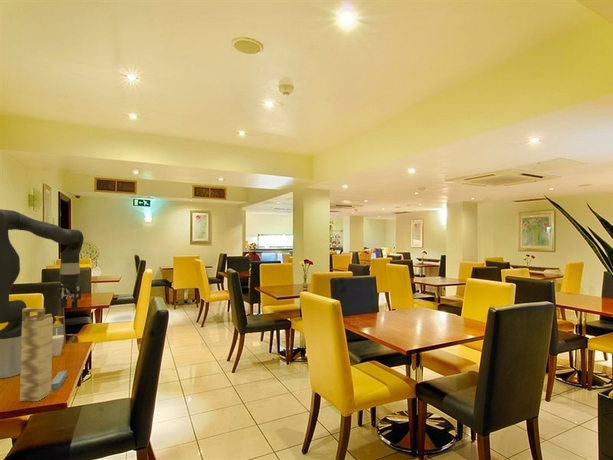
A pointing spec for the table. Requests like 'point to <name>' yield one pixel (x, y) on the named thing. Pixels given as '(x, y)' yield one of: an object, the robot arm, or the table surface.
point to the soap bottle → (58, 328)
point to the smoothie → (57, 344)
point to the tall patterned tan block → (36, 354)
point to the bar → (58, 380)
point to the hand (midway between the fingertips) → (69, 308)
